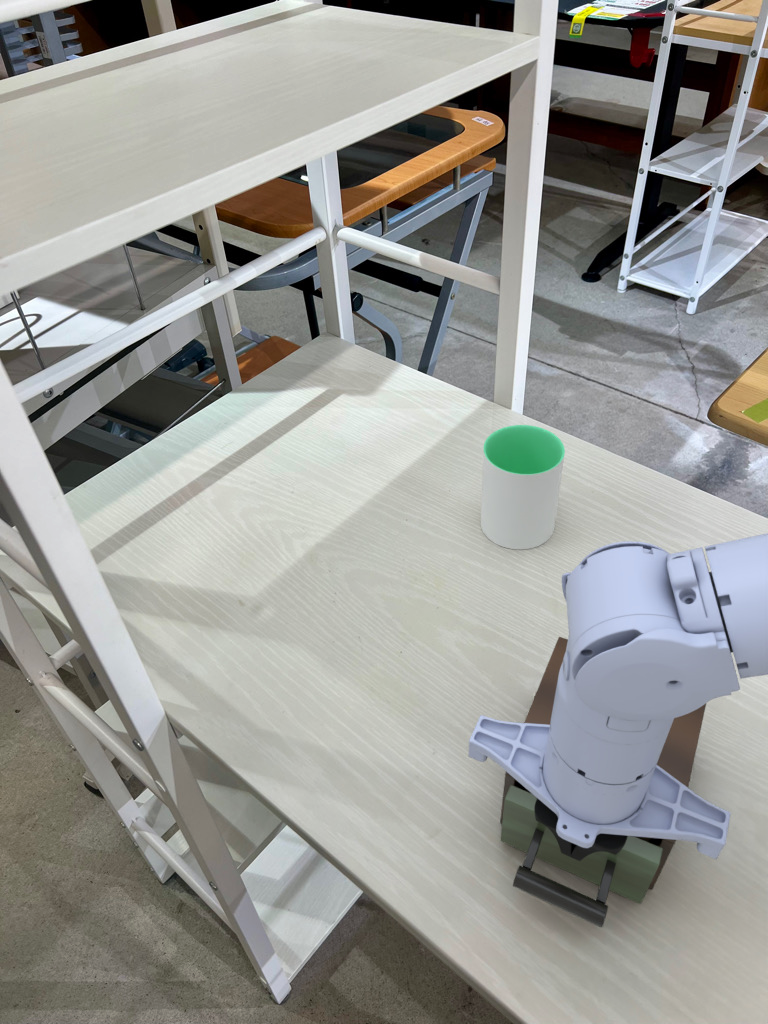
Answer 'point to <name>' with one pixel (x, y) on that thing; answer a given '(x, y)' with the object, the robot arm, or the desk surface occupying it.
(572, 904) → the drawer
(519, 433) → the mug
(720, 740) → the desk surface
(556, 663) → the cabinet
